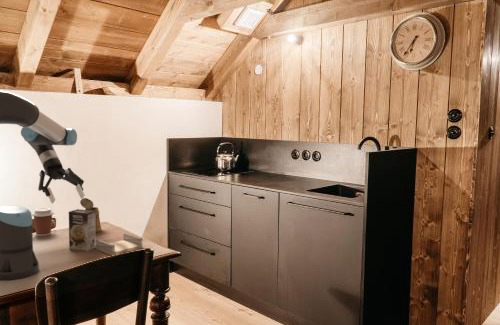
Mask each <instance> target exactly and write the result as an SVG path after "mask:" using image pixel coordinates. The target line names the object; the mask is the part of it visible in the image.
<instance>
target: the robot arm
mask: <svg viewBox="0 0 500 325" xmlns="http://www.w3.org/2000/svg"><path fill="white" fill-rule="evenodd" d="M1 124H2V125H18V126H19V127H21V130H20V135H21V137H22V138H23V140H24V141H25V142H26V143H28V145H30V146H31V148H32V149H33V150H34V151H35V152H36V155H37V156H38V159H39V161H40V163H41V164H42V167H43V169H41V170H40V172H39V177H40V178H39V184H38V191H39V192H40V191H42V193H44V194H45V196H46V198H48V199H49V202H50V203H51V204H54V203H55V201H56V198H55V196H54V194H53V192H52V189H51V187H49V186H50V184H51V182H52V181H53V180H54V181H56V180H63V181H66V182H68V183H69V184H71V185H73V186H75V189H76V191H77V193H78V195H79V198H80V199H81V200H82V199H84V198H85V196H86V195H85V192H84V188H83V185H84V183H85V181H84V180H83V179H82V178H81V177H79V175H77V174H76V173H75V172H74V171H73V170H72V168H70V167H68V168H67V169H65V168H64V166H63V163H62V162H61V160H60V158H59V156H58V154H57V152H56V150H55V148H54V146H66V147H67V146H74V145H75V144H77V140H78V133H77V131H76V130H75V129H74V128H67V127H66V128H65V127H64V126H62V125H60V124H59V122H56V121H55V120H54V119H52V118H50V117H49V116H47V115H46V114H44V112H42V111H40V108H39V107H38V106H37V105H36V104H35V103H34V102H32V101H30V100H29V99H26V98H25V97H23V96H20V95H18V94H15V93H12V92H9V91H5V90H0V125H1ZM46 176H47V177H49V178H48V180H47V182H46V183H44V182H45V177H46ZM44 184H45V185H44ZM32 214H33V213H32V212H31V211H30V210H29V209H28V208H26V207H22V206H15V205H10V206H7V205H5V206H4V205H3V206H0V281H1V280H2V281H7V280H8V281H11V280H18V279H23V278H27V277H30V276H33V275H36V273H38V272H39V270H40V263H39V261H38V258H37V256H36V253H35V251H34V246H33V245H34V240H33V239H34V238H33V237H34V234H33V232H34V231H33V223H34V221H33V216H32Z"/></svg>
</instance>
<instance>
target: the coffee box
mask: <svg viewBox="0 0 500 325" xmlns="http://www.w3.org/2000/svg"><path fill="white" fill-rule="evenodd" d="M96 233H97V232H96V211H91V210H85V209H73V210H70V211H68V239H69V240H68V245H69V246H68V249H69V250H74V251H75V250H77V251H86V252H89V251H90V250H92V249H94V248H95V249H96V240H97V239H96V235H97V234H96Z"/></svg>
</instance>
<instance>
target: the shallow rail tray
mask: <svg viewBox="0 0 500 325" xmlns="http://www.w3.org/2000/svg"><path fill="white" fill-rule="evenodd" d="M142 248H143V237H140V236H137V235H133V234H130V233H127V232H125V233H123V240H118V241H115V242H114V241H113V242H110V243H109V242H107V241H104V240H101V239H96V247H95V250H97V251H99V252H102V253H104V254H107V255H109V256H112V255H113V256H115V255H114V254H117V255H120V254H119V253H121V254H123V252H124V253H127V252H132V251H134V250H135V251H136V250H139V249H142Z"/></svg>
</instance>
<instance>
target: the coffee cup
mask: <svg viewBox="0 0 500 325" xmlns="http://www.w3.org/2000/svg"><path fill="white" fill-rule="evenodd" d="M31 214H32V217H33V218H34V221H33V222H34V227H35V236H37V237H45V236H49V235H52V224H53V222H52V221H53V220H52V219H53V215H54V211H53V210H52V208H50V207H39V208H35V209H34V211H33V212H32V213H31Z"/></svg>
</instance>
